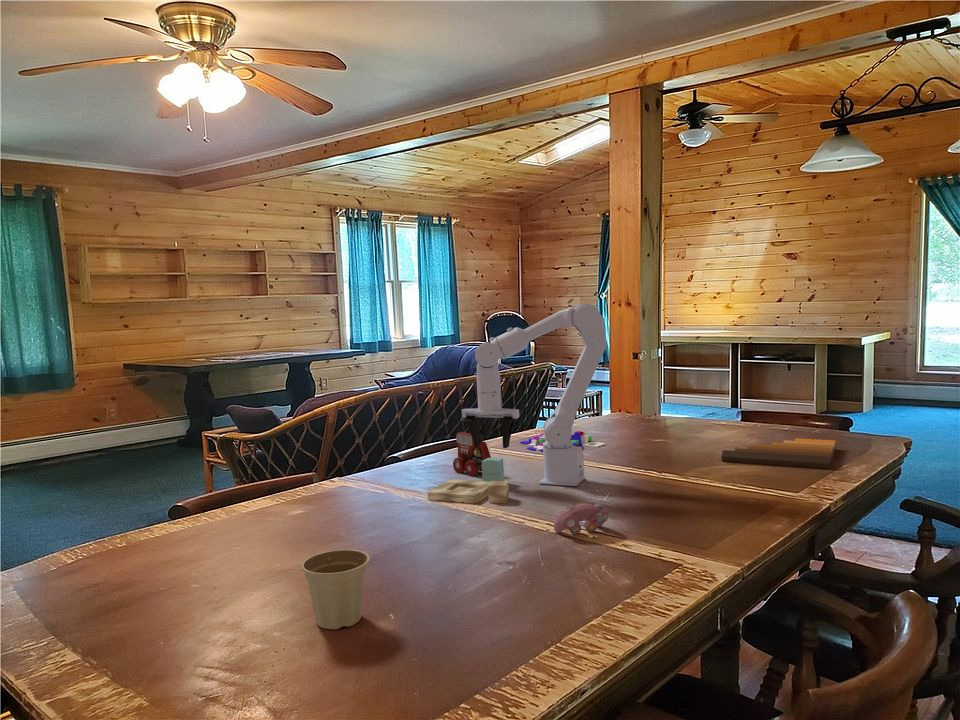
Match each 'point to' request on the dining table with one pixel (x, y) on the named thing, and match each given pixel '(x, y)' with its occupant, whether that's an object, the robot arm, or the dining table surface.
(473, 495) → the base plate
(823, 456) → the pan flute
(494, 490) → the maple cube
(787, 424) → the dining table surface
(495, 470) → the teal brick
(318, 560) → the flower pot
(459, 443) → the toy fire truck
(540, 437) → the building block set
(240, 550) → the dining table surface
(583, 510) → the video game controller
